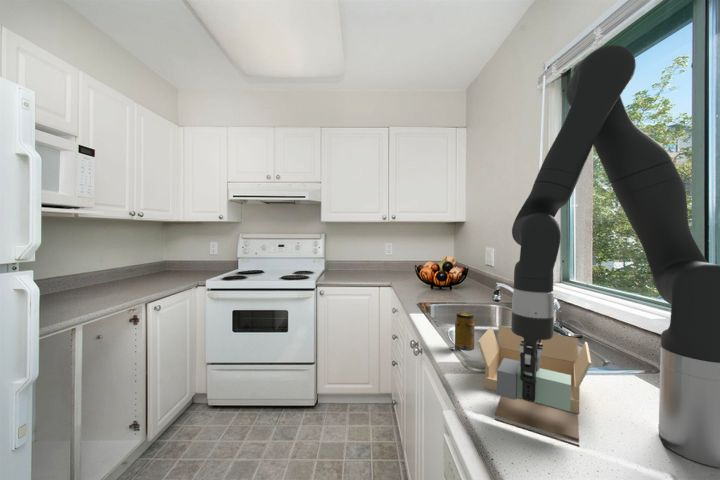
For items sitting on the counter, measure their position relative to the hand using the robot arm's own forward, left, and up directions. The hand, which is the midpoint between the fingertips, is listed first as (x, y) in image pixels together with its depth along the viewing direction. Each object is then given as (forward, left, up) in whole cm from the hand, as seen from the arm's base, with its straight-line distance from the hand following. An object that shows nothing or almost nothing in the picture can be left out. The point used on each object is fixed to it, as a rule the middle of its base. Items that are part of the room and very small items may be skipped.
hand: (530, 393), depth 63 cm
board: (-1, 0, -5) cm, 5 cm away
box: (0, 0, 0) cm, 0 cm away
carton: (+1, -14, -5) cm, 15 cm away
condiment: (+21, -30, -5) cm, 37 cm away
